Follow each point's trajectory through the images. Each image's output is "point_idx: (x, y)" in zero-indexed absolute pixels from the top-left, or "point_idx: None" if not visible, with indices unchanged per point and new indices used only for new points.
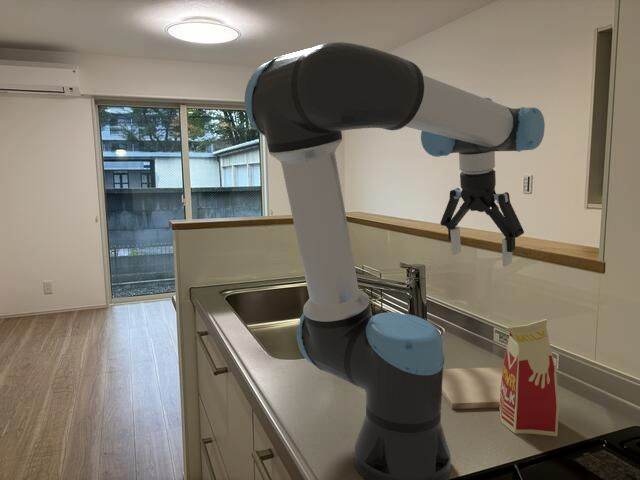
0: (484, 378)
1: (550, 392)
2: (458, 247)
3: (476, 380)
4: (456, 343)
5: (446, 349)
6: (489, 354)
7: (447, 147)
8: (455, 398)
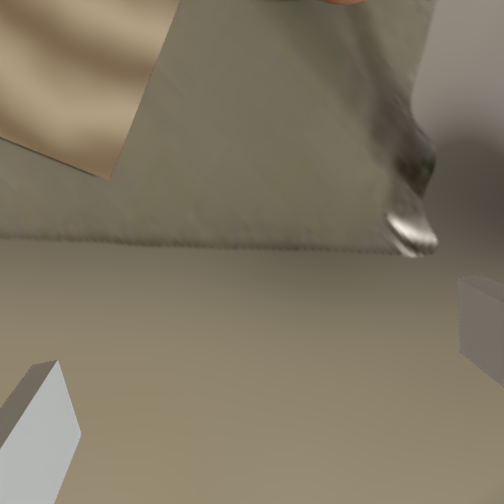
0: (66, 59)
1: None
2: (487, 348)
3: (64, 24)
4: (320, 211)
5: (307, 154)
6: (219, 231)
7: None
8: None
